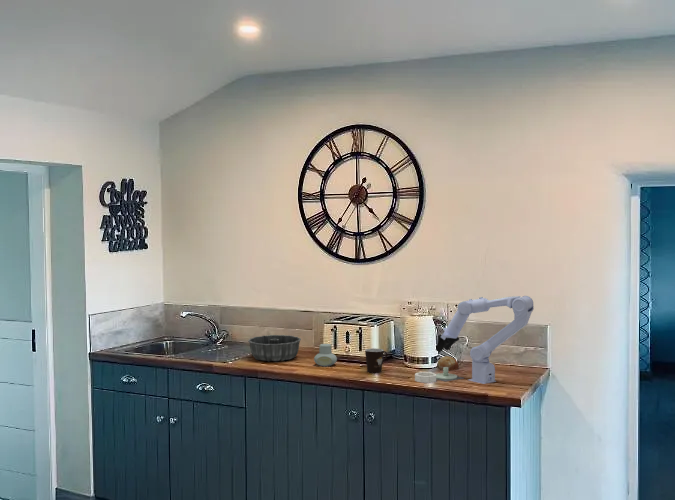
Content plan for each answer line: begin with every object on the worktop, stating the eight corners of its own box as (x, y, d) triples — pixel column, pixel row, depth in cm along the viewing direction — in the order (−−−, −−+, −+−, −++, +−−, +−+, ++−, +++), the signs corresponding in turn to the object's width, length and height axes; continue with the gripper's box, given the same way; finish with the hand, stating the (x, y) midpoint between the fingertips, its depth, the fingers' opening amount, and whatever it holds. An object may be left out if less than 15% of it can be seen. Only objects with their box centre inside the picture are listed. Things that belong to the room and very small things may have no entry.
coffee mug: (368, 374, 323) (368, 352, 323) (362, 370, 332) (362, 348, 331) (392, 372, 326) (392, 350, 326) (386, 369, 335) (386, 347, 334)
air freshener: (312, 366, 340) (312, 345, 340) (315, 363, 348) (315, 343, 348) (335, 367, 339) (335, 346, 338) (337, 363, 347) (337, 343, 347)
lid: (462, 377, 313) (462, 367, 313) (445, 380, 307) (445, 370, 307) (445, 373, 321) (445, 364, 321) (429, 376, 315) (429, 366, 315)
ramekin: (440, 382, 308) (440, 374, 307) (425, 385, 302) (425, 377, 302) (426, 378, 315) (426, 371, 315) (410, 381, 310) (410, 373, 309)
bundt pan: (276, 366, 342) (276, 345, 342) (237, 359, 358) (237, 339, 358) (311, 357, 363) (311, 338, 363) (273, 352, 379) (272, 333, 379)
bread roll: (436, 375, 338) (430, 360, 336) (453, 364, 341) (447, 350, 340) (446, 379, 329) (440, 364, 327) (464, 368, 332) (458, 353, 330)
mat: (465, 379, 313) (465, 378, 313) (445, 382, 306) (445, 381, 306) (445, 374, 322) (445, 373, 322) (426, 377, 315) (426, 376, 315)
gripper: (456, 317, 321) (441, 342, 326) (441, 321, 309) (427, 346, 314) (468, 326, 318) (454, 351, 322) (454, 330, 306) (439, 356, 310)
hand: (441, 349), depth 318 cm, fingers open, 7 cm apart
